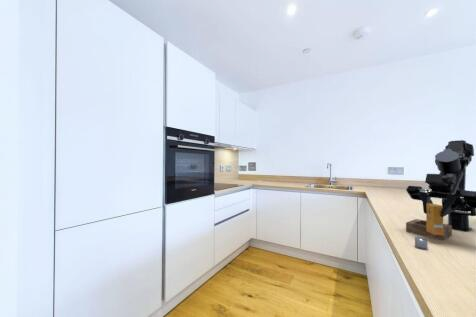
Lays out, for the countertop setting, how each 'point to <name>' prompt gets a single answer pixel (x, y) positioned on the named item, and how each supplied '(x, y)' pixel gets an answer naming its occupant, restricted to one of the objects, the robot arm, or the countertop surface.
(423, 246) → the short metal stub
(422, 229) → the hole block
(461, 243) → the countertop surface
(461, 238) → the countertop surface
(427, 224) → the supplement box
